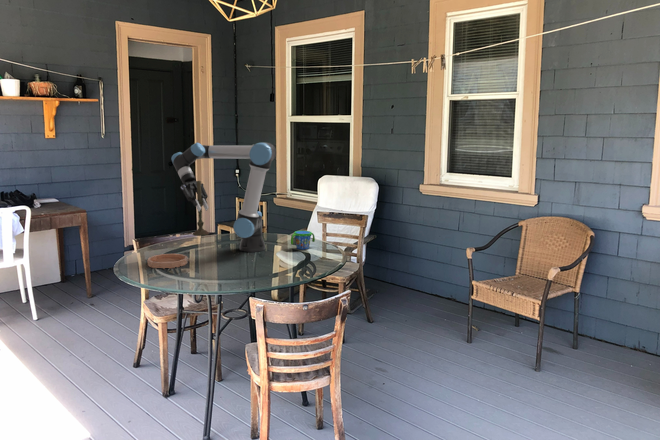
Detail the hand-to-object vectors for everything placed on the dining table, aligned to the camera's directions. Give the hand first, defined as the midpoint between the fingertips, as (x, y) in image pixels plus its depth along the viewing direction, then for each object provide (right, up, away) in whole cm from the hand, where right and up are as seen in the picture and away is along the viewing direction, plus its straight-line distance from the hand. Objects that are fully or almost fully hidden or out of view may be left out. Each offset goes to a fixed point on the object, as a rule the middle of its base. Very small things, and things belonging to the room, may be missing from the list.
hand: (203, 209), depth 283 cm
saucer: (-18, -29, -4) cm, 34 cm away
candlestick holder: (-3, -14, +5) cm, 15 cm away
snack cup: (+52, -23, +34) cm, 66 cm away
